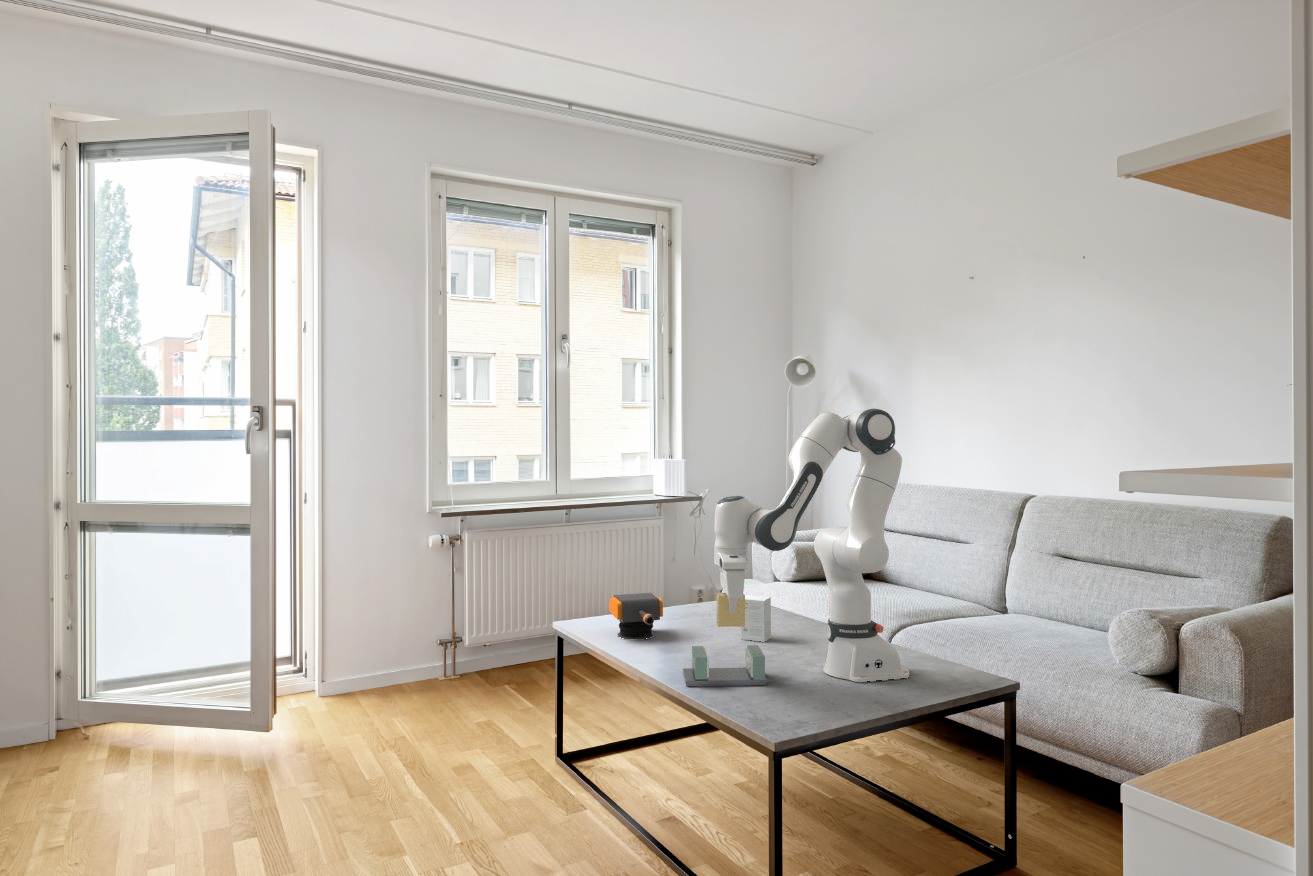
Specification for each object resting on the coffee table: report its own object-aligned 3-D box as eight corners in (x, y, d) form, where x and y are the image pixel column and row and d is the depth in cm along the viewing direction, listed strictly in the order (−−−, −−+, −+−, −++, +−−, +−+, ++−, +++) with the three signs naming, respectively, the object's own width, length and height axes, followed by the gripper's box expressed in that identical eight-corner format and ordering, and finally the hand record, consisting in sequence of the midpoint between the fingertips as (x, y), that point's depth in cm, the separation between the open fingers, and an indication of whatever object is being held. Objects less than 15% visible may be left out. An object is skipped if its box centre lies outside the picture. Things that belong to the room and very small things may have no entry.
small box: (771, 638, 263) (771, 597, 263) (764, 642, 258) (764, 600, 258) (747, 635, 267) (747, 594, 267) (740, 639, 261) (740, 598, 261)
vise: (760, 672, 226) (759, 645, 226) (766, 685, 215) (766, 656, 215) (683, 674, 226) (682, 646, 225) (685, 686, 215) (685, 657, 214)
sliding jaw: (705, 667, 226) (704, 646, 226) (709, 679, 215) (708, 657, 215) (692, 667, 226) (692, 646, 226) (695, 679, 215) (695, 657, 215)
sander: (626, 651, 249) (626, 609, 249) (608, 631, 273) (608, 593, 273) (673, 647, 253) (673, 605, 253) (651, 628, 277) (651, 590, 277)
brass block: (716, 622, 222) (716, 592, 222) (742, 622, 223) (742, 592, 223) (718, 626, 218) (718, 596, 218) (745, 626, 218) (745, 596, 218)
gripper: (715, 552, 230) (714, 601, 231) (723, 564, 210) (723, 618, 210) (737, 551, 231) (737, 601, 231) (748, 563, 210) (748, 618, 210)
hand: (730, 609), depth 220 cm, fingers closed on brass block, 4 cm apart
